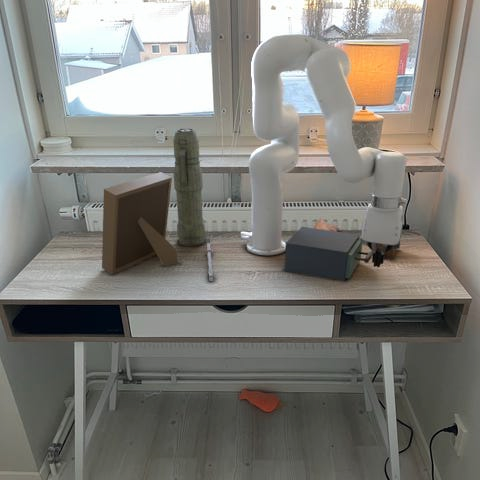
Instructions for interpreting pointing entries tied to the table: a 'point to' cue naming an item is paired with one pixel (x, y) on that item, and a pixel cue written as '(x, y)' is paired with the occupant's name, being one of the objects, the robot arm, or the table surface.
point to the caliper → (209, 259)
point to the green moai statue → (188, 188)
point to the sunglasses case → (325, 226)
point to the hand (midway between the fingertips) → (377, 265)
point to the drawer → (356, 258)
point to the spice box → (389, 253)
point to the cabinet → (319, 252)
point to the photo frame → (136, 223)
